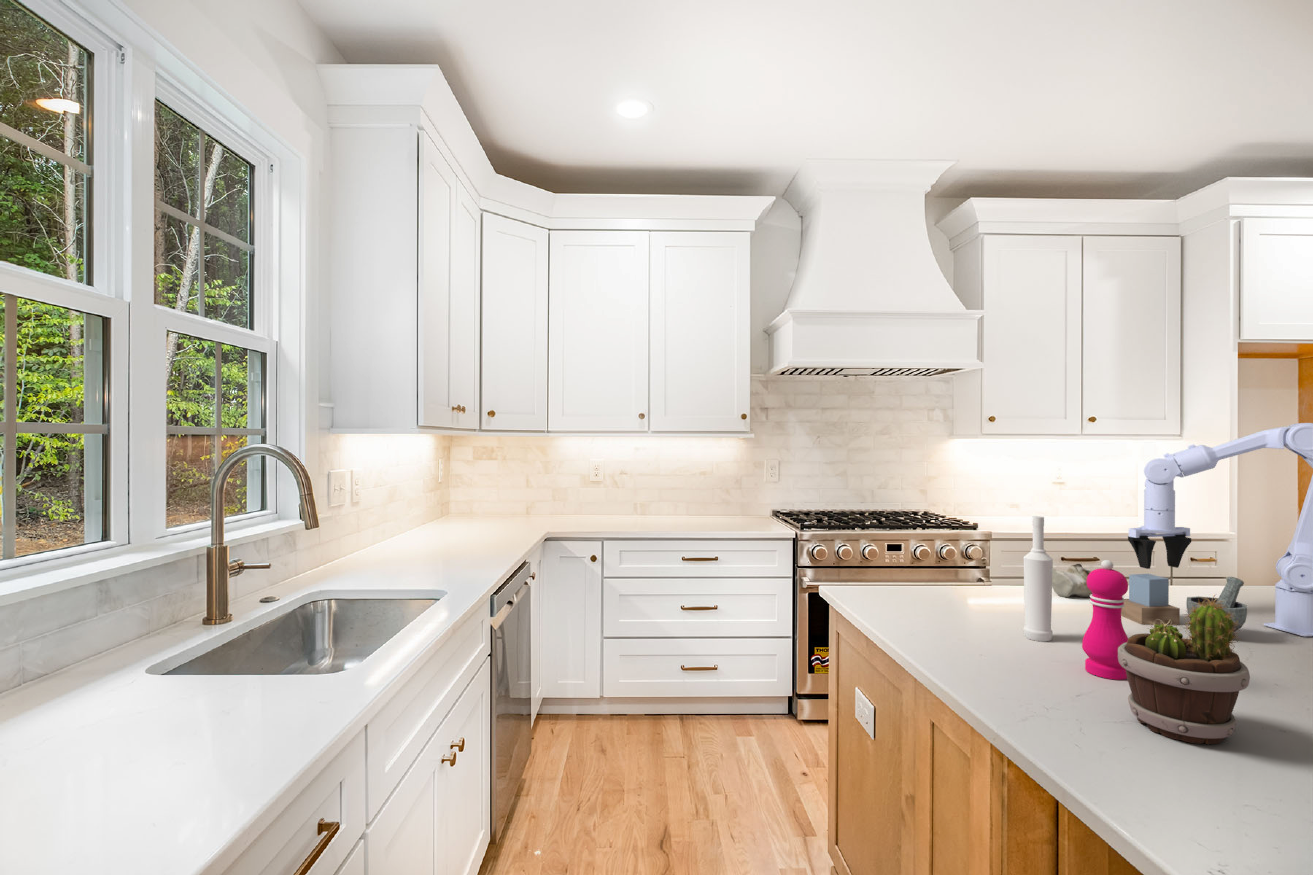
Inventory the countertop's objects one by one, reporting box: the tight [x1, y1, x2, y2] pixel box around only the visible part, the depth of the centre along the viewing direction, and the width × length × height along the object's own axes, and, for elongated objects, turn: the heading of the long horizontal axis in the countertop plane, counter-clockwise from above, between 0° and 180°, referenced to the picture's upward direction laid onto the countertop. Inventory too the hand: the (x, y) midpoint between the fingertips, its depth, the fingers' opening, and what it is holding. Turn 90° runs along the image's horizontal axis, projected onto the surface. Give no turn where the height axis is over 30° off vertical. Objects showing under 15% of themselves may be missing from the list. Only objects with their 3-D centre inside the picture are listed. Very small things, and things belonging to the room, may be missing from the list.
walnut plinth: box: [1121, 598, 1181, 626], centre depth 144 cm, size 8×8×4 cm
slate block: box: [1128, 573, 1170, 607], centre depth 144 cm, size 5×5×6 cm
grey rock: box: [1052, 563, 1093, 598], centre depth 164 cm, size 11×9×15 cm
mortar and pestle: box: [1186, 576, 1248, 641], centre depth 133 cm, size 11×9×12 cm
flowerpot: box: [1118, 594, 1251, 745], centre depth 91 cm, size 14×15×20 cm
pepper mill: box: [1081, 559, 1129, 681], centre depth 112 cm, size 7×7×20 cm
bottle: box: [1022, 515, 1054, 643], centre depth 131 cm, size 5×5×25 cm
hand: (1159, 567), depth 150 cm, fingers open, 7 cm apart
